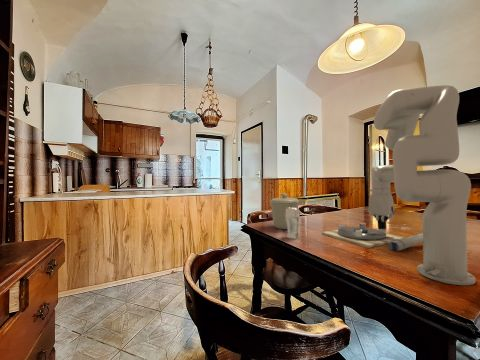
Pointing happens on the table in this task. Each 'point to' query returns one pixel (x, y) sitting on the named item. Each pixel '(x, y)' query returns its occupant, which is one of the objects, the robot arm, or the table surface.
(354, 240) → the nut board
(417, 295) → the table surface
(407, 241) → the grey flashlight
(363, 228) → the ring nut
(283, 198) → the canister
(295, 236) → the beer glass
